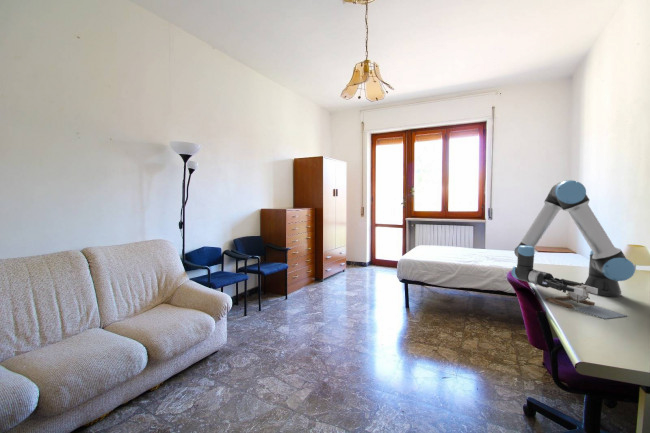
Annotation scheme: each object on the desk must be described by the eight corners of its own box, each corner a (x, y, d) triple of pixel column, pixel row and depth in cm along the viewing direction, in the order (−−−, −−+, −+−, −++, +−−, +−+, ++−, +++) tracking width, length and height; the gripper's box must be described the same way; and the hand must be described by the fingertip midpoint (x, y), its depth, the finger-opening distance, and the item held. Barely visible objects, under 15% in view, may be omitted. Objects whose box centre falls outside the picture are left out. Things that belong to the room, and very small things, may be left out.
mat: (595, 306, 140) (595, 305, 140) (627, 316, 129) (627, 315, 129) (573, 308, 136) (573, 308, 136) (604, 319, 125) (604, 318, 125)
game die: (582, 310, 139) (599, 298, 133) (563, 302, 141) (579, 289, 135) (577, 296, 146) (593, 284, 140) (559, 288, 148) (574, 276, 141)
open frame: (569, 297, 152) (569, 295, 152) (594, 305, 142) (594, 302, 141) (545, 300, 148) (545, 297, 147) (569, 308, 137) (569, 305, 137)
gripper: (555, 284, 161) (605, 298, 139) (525, 286, 155) (572, 301, 133) (557, 270, 160) (607, 282, 138) (526, 272, 154) (573, 285, 133)
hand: (589, 292), depth 136 cm, fingers closed on game die, 8 cm apart
